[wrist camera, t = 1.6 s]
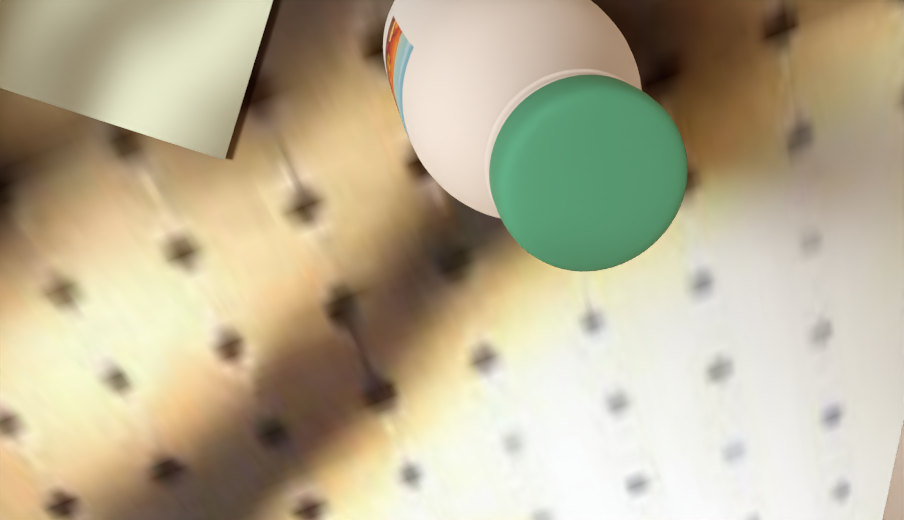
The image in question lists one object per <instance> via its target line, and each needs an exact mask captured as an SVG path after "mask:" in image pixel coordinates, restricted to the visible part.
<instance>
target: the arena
mask: <svg viewBox="0 0 904 520" xmlns="http://www.w3.org/2000/svg"><path fill="white" fill-rule="evenodd" d="M272 3H273V0H0V88H1V89H4V90H7V91H10V92H14V93H17V94H20V95H23V96H26V97H29V98H32V99H35V100H39V101H42V102H45V103H48V104H51V105H54V106H57V107H60V108H63V109H67V110H70V111H73V112H76V113H79V114H82V115H85V116H88V117H91V118H95V119H98V120H101V121H104V122H107V123H110V124H113V125H116V126H119V127H123V128H126V129H129V130H132V131H135V132H138V133H141V134H144V135H148V136H151V137H154V138H157V139H160V140H163V141H166V142H169V143H172V144H176V145H179V146H182V147H185V148H188V149H191V150H194V151H197V152H200V153H204V154H207V155H210V156H213V157H216V158H219V159H222V160H225V157H226V154H227V151H228V147H229V144H230V141H231V138H232V134H233V131H234V128H235V124H236V121H237V118H238V115H239V111H240V108H241V105H242V101H243V98H244V95H245V91H246V88H247V85H248V82H249V78H250V75H251V72H252V68H253V65H254V62H255V59H256V55H257V52H258V49H259V45H260V42H261V39H262V35H263V32H264V29H265V26H266V22H267V19H268V16H269V12H270V9H271V6H272Z"/></svg>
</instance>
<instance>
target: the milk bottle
mask: <svg viewBox="0 0 904 520" xmlns="http://www.w3.org/2000/svg"><path fill="white" fill-rule="evenodd" d="M383 54H384V62H385V68H386V72H387V76H388V80H389V83H390V86H391V89H392V93H393V96H394V99H395V102H396V105H397V108H398V111H399V114H400V117H401V119H402V122H403V125H404V128H405V130H406V133H407V135H408V137H409V139H410V141H411V143H412V146H413V148H414V150H415V152H416V154H417V156H418V158H419V159H420V161H421V162H422V164H423V165H424V167H425V168H426V170H427V171H428V172H429V173H430V175H431V176H432V177H433V178H434V179H435V180H436V181H437V182H438V183H439V184H440V185H441V186H442V187H443V188H444V189H445V190H446V191H447V192H448V193H449V194H451V195H452V196H453V197H455V198H456V199H458V200H459V201H460V202H462V203H464V204H465V205H467V206H469V207H471V208H473V209H475V210H477V211H479V212H482V213H484V214H487V215H490V216H494V217H498V218H501V220H502V222H503V223H504V225H505V226H506V228H507V230H508V231H509V232H510V234H511V235H512V237H513V238H514V239H515V240H516V242H517V243H518V244H519V245H520V246H521V247H522V248H523V249H525V250H526V251H527V252H528V253H530V254H531V255H533V256H534V257H536V258H537V259H539V260H541V261H543V262H545V263H547V264H550V265H552V266H555V267H558V268H561V269H566V270H571V271H597V270H602V269H607V268H611V267H614V266H617V265H620V264H623V263H625V262H627V261H629V260H631V259H633V258H635V257H636V256H638V255H640V254H641V253H642V252H644V251H645V250H647V249H648V248H649V247H650V246H651V245H653V244H654V243H655V242H656V241H657V240H658V239H659V238H660V237H661V236H662V234H663V233H664V232H665V231H666V230H667V228H668V227H669V226H670V224H671V223H672V221H673V219H674V218H675V216H676V214H677V212H678V210H679V208H680V205H681V203H682V200H683V197H684V193H685V190H686V184H687V175H688V164H687V155H686V151H685V146H684V143H683V140H682V137H681V135H680V132H679V130H678V128H677V126H676V124H675V123H674V121H673V119H672V118H671V117H670V115H669V114H668V113H667V111H666V110H665V109H664V108H663V107H662V106H661V105H660V104H658V103H657V102H656V101H655V100H654V99H652V98H651V97H650V96H649V95H648V94H646V93H645V92H643V91H642V89H641V82H640V76H639V72H638V68H637V65H636V62H635V59H634V56H633V54H632V52H631V50H630V48H629V46H628V44H627V42H626V40H625V38H624V36H623V35H622V33H621V32H620V30H619V29H618V28H617V26H616V25H615V24H614V22H613V21H612V20H611V19H610V18H609V17H608V16H607V15H606V14H605V13H604V12H603V11H602V10H601V9H600V8H599V7H598V6H597V5H596V4H595V3H593V2H592V1H591V0H395V1H394V3H393V5H392V7H391V9H390V11H389V14H388V17H387V20H386V25H385V29H384V37H383Z"/></svg>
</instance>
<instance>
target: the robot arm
mask: <svg viewBox="0 0 904 520" xmlns="http://www.w3.org/2000/svg"><path fill="white" fill-rule="evenodd" d="M883 520H904V422H903V427H902V431H901V436H900V441H899V445H898V450H897V455H896V459H895V464H894V469H893V473H892V478H891V483H890V487H889V492H888V497H887V501H886V506H885V511H884V515H883Z"/></svg>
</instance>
